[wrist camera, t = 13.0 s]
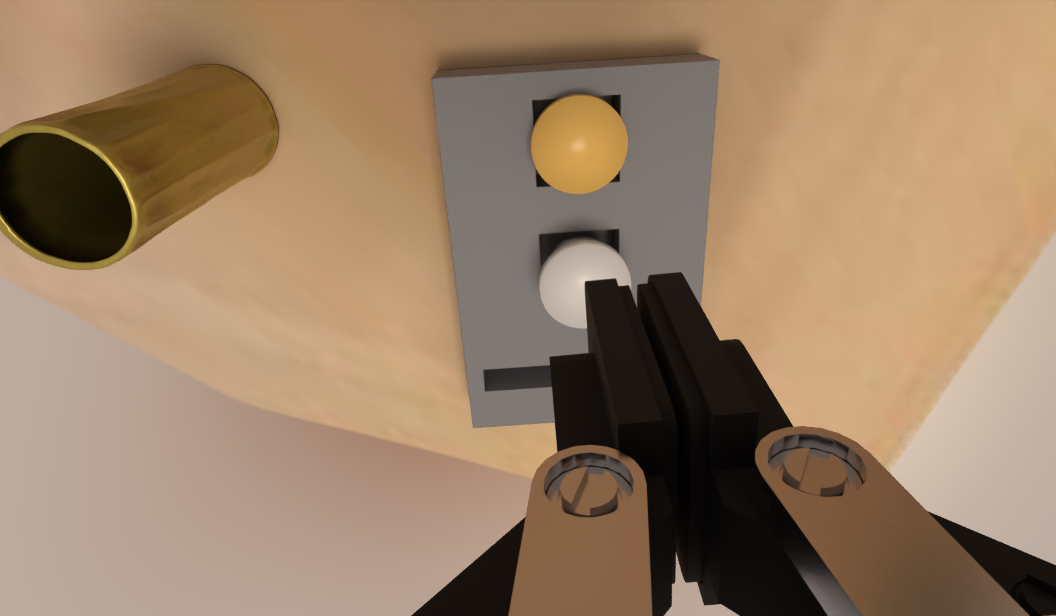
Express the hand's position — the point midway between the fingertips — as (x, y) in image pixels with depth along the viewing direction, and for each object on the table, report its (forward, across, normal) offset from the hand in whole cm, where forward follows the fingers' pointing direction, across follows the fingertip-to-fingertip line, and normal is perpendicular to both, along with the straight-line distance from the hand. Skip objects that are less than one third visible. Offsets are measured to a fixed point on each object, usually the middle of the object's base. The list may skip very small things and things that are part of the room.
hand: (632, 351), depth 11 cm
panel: (+26, 0, +9) cm, 28 cm away
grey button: (+23, -1, +9) cm, 25 cm away
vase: (+26, +18, 0) cm, 32 cm away
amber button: (+25, -1, +2) cm, 25 cm away
